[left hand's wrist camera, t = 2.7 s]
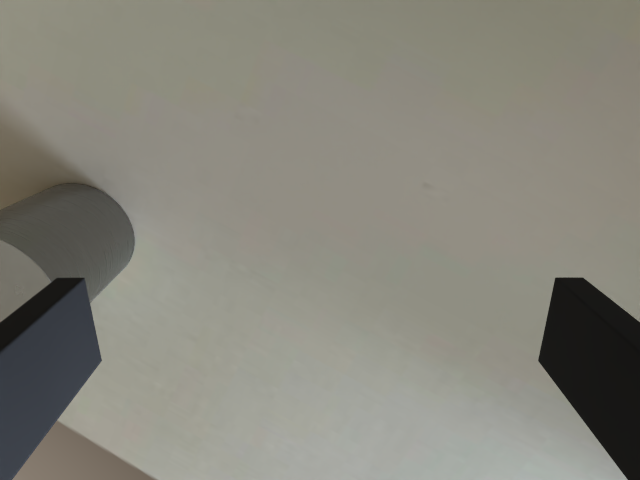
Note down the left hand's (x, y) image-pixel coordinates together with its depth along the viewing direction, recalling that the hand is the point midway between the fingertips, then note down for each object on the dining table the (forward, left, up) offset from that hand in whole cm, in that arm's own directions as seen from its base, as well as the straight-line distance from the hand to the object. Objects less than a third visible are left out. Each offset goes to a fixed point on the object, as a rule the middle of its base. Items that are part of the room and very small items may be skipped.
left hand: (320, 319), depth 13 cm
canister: (-12, -13, -19) cm, 26 cm away
